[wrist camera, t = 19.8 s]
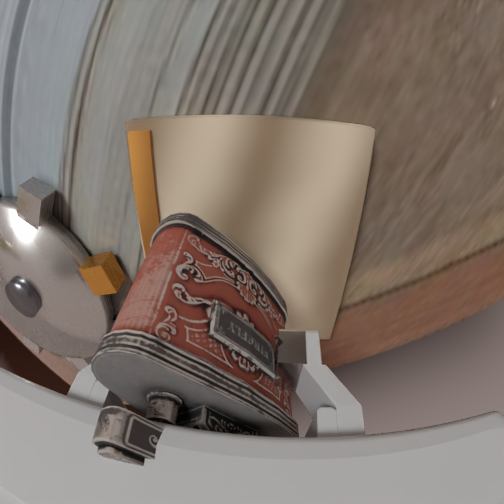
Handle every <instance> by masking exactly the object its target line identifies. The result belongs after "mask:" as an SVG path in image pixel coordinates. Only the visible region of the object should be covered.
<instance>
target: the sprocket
mask: <svg viewBox="0 0 504 504" xmlns="http://www.w3.org/2000/svg"><path fill="white" fill-rule="evenodd" d="M55 192H56V190H55V189H54V188H52V187H50V186H49V185H47V184H45V183H44V182H42V181H40V180H39V179H37V178H35V177H34V176H33V177H32V178H30V179H29V180H27V181H26V182H24V183H22V184H21V185H19V186H18V197H15V196H4V197H0V314H1V315H2V316H3V317H4V318H5V319H6V320H7V321H8V322H9V323H10V324H11V325H12V326H13V327H14V328H15V329H16V330H18V331H19V332H20V333H21V334H22V335H23V341H24V344H25V345H26V346H27V347H29V348H30V349H32V350H33V351H35V352H36V353H38V354H39V355H40V353H41V351H42V350H43V348H44V349H46V350H48V351H50V352H52V353H55V354H58V355H61V356H65V357H68V358H69V359H70V360H71V361H72V362H73V363H74V364H75V365H76V367H77V368H78V369H79V370H80V371H81V370H82V369H83V368H85V367H86V366H88V365H89V364H91V361H92V359H93V356H94V354H95V352H96V349H97V347H98V345H99V343H100V341H101V340H102V338H103V337H104V335H106V334H108V333H110V332H111V330H112V328H113V325H114V323H115V321H114V320H113V307H112V302H111V298H110V295H109V294H113V293H117V292H118V290H119V289H120V287H121V285H122V284H123V282H124V281H125V279H126V276H125V275H124V273H123V271H122V269H121V267H120V266H119V264H118V262H117V260H116V258H115V256H114V254H113V253H112V251H110V252H106V253H102V254H97V255H93V256H89V255H88V253H87V252H86V250H85V249H84V247H83V246H82V245H81V244H80V243H79V241H78V240H77V239H76V238H75V237H74V235H73V234H72V233H71V232H70V231H69V230H68V229H67V228H66V227H65V226H64V225H63V224H62V223H61V222H59V221H58V220H57V219H56V218H55V217H54V216H53V215H52V211H53V204H54V198H55Z"/></svg>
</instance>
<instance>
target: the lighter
mask: <svg viewBox="0 0 504 504" xmlns="http://www.w3.org/2000/svg"><path fill="white" fill-rule="evenodd" d="M287 320H288V314H287V306H286V302H285V300H284V299H283V297H282V296H281V294H280V293H279V291H278V290H277V288H276V286H275V285H274V283H273V282H272V280H271V279H270V278H269V277H268V276H267V275H266V274H265V272H264V271H263V270H262V269H261V268H260V267H259V266H258V264H257V263H256V262H255V261H254V260H253V259H252V258H251V257H250V256H249V255H248V254H247V253H246V252H244V251H243V250H242V249H241V248H240V247H239V246H237V245H236V244H235V243H234V242H233V241H232V240H230V239H229V238H228V237H227V236H226V235H224V234H223V233H221V232H220V231H218V230H217V229H215V228H214V227H213V226H211V225H210V224H208V223H207V222H205V221H204V220H202V219H201V218H199V217H198V216H196V215H193V214H191V213H186V212H178V213H174V214H171V215H169V216H167V217H166V218H164V219H163V220H162V221H161V223H160V224H159V225H158V227H157V229H156V230H155V232H154V234H153V236H152V239H151V243H150V250H149V252H148V254H147V256H146V258H145V260H144V262H143V264H142V266H141V268H140V270H139V272H138V274H137V276H136V278H135V280H134V282H133V284H132V286H131V288H130V290H129V293H128V295H127V297H126V299H125V301H124V303H123V305H122V308H121V310H120V312H119V314H118V316H117V319H116V321H115V323H114V325H113V328H112V330H111V332H110V333H108V334H106V335H104V337H103V338H102V340H101V341H100V343H99V345H98V347H97V349H96V352H95V354H94V356H93V359H92V361H91V370H92V372H93V374H94V376H95V378H96V379H97V380H98V381H99V382H100V383H101V384H102V385H103V386H105V387H106V388H107V389H109V390H110V391H112V392H113V393H114V394H116V395H117V396H118V397H120V398H121V399H123V400H124V401H126V402H127V403H128V404H130V405H131V406H133V407H134V408H136V409H137V410H139V411H141V412H142V413H144V414H146V416H145V418H143V417H141V416H139V415H137V414H135V413H133V412H131V411H129V410H127V409H125V408H122V407H118V406H107V407H105V408H103V409H102V410H101V412H100V415H99V418H98V421H97V425H96V428H95V431H94V435H93V438H92V444H94V445H95V446H96V447H98V450H97V454H99V455H100V456H102V457H106V458H109V459H113V460H117V461H121V462H126V463H130V464H135V465H139V466H144V461H145V458H147V459H153V460H155V453H156V447H157V443H158V440H159V438H160V436H161V434H162V432H163V430H164V428H163V427H161V426H159V425H157V424H155V423H153V422H151V421H149V420H152V421H156V422H160V423H166V424H171V425H176V426H182V427H188V428H194V429H200V430H207V431H215V432H223V433H232V434H242V435H254V436H270V437H299V434H298V425H297V422H296V420H294V419H293V418H292V409H291V396H290V390H279V388H278V387H277V386H276V385H275V367H276V363H275V355H276V344H277V338H278V330H279V329H285V325H286V324H287Z"/></svg>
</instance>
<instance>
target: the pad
mask: <svg viewBox="0 0 504 504" xmlns="http://www.w3.org/2000/svg"><path fill="white" fill-rule="evenodd" d="M125 126H126V137H127V147H128V156H129V165H130V173H131V180H132V188H133V194H134V201H135V208H136V214H137V220H138V225H139V231H140V237H141V242H142V247H143V252H144V257H145V258H146V256H147V254H148V252H149V250H150V243H151V239H152V236H153V234H154V232H155V230H156V229H157V227H158V225H159V224H160V223H161V221H162V220H163V219H164V218H166V217H167V216H169V215H171V214H174V213H178V212H186V213H191V214H193V215H196V216H198V217H199V218H201V219H202V220H204V221H205V222H207V223H208V224H210V225H211V226H213V227H214V228H215V229H217V230H218V231H220V232H221V233H223V234H224V235H226V236H227V237H228V238H229V239H230V240H232V241H233V242H234V243H235V244H236V245H237V246H239V247H240V248H241V249H242V250H243V251H244V252H246V253H247V254H248V255H249V256H250V257H251V258H252V259H253V260H254V261H255V262H256V263H257V264H258V266H259V267H260V268H261V269H262V270H263V271H264V272H265V274H266V275H267V276H268V277H269V278H270V279H271V280H272V282H273V283H274V285H275V286H276V288H277V290H278V291H279V293H280V294H281V296H282V297H283V299H284V300H285V302H286V306H287V314H288V320H287V324H286V325H285V329H292V330H304V331H305V330H318V332H319V338H320V339H330V337H331V334H332V330H333V327H334V324H335V320H336V317H337V313H338V310H339V306H340V302H341V299H342V295H343V291H344V288H345V284H346V280H347V276H348V272H349V268H350V264H351V259H352V255H353V251H354V247H355V242H356V238H357V233H358V228H359V224H360V219H361V214H362V209H363V204H364V198H365V193H366V187H367V181H368V176H369V169H370V163H371V157H372V150H373V143H374V135H375V129H373V128H372V127H370V126H365V125H359V124H352V123H344V122H336V121H328V120H318V119H308V118H296V117H281V116H262V115H185V116H166V117H152V118H140V119H133V120H130V121H128V122H125Z"/></svg>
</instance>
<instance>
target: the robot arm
mask: <svg viewBox="0 0 504 504" xmlns="http://www.w3.org/2000/svg"><path fill="white" fill-rule="evenodd" d="M275 363H276V367H275V385H276V386H277V387H278V388H279V390H290V391H296V393H297V395H298V396H299V398H300V399H301V401H302V402H303V404H304V406H305V407H306V409H307V410H308V412H309V413H310V415H311V416H312V418H313V421H312V423H311V425H310V427H309V429H308V431H307V433H306V435H305V437H300V438H299V437H270V436H254V435H242V434H232V433H223V432H215V431H207V430H200V429H194V428H188V427H182V426H176V425H171V424H166V423H160V422H156V421H152V420H149V421H151V422H153V423H155V424H157V425H159V426H161V427H163V428H164V430H163V432H162V434H161V436H160V438H159V440H158V443H157V447H156V453H155V460H153V459H147V458H145V461H144V466H139V465H135V464H130V463H126V462H121V461H117V460H113V459H109V458H106V457H102V456H100V455H99V454H97V450H98V447H96V446H95V445H94V444H92V438H93V435H94V431H95V428H96V425H97V421H98V418H99V415H100V412H101V410H102V409H103V408H105V407H107V406H118V407H122V408H125V409H126V407H125V406H124V404H123V403H122V402H123V401H124V400H123V399H121V398H120V397H118V396H117V395H116V394H114V393H113V392H112V391H110V390H109V389H107V388H106V387H105V386H103V385H102V384H101V383H100V382H99V381H98V380H97V379H96V378H95V376H94V374H93V372H92V370H91V364H89V365H88V366H86V367H85V368H83V369H82V370H81V371H79V372H78V374H77V376H76V378H75V380H74V382H73V384H72V386H71V388H70V390H69V392H68V394H67V396H65V395H63V394H60V393H57V392H55V391H52V390H50V389H47V388H45V387H42V386H40V385H37V384H35V383H32V382H30V381H28V380H26V379H23V378H21V377H19V376H17V375H15V374H13V373H11V372H9V371H7V370H5V369H2V368H1V367H0V504H504V415H502V414H501V413H500V412H498V411H492V412H488V413H484V414H481V415H477V416H473V417H470V418H466V419H462V420H457V421H453V422H449V423H444V424H440V425H434V426H429V427H424V428H418V429H411V430H405V431H398V432H390V433H381V434H371V435H365V428H364V420H363V413H362V406H361V404H360V403H359V402H358V401H357V400H356V399H355V398H354V396H353V395H352V394H351V393H350V392H349V391H348V390H347V389H346V387H345V386H344V385H343V384H342V383H341V382H340V380H339V379H338V378H337V377H336V376H335V375H334V374H333V372H332V371H331V370H330V369H329V368H328V367H327V366H326V365H322V359H321V348H320V338H319V332H318V330H305V331H304V330H292V329H279V330H278V338H277V344H276V355H275Z"/></svg>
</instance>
